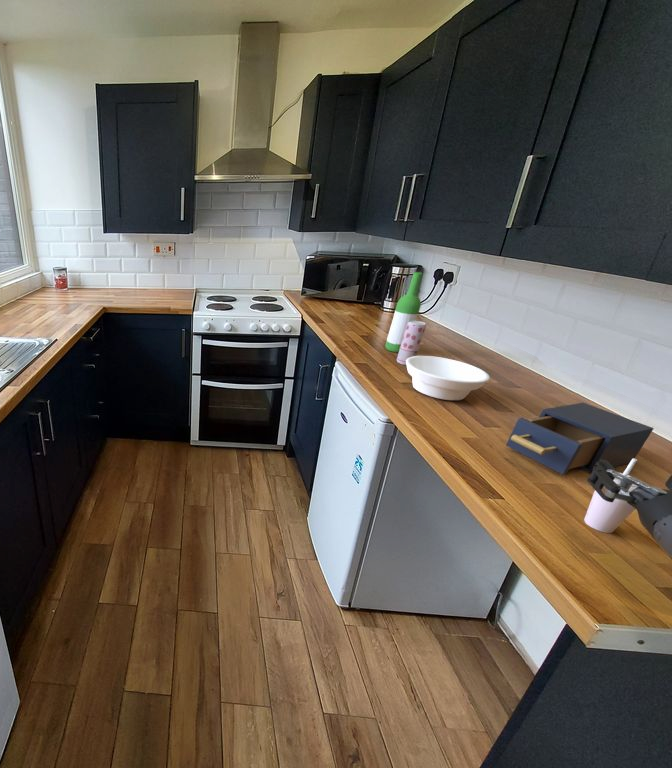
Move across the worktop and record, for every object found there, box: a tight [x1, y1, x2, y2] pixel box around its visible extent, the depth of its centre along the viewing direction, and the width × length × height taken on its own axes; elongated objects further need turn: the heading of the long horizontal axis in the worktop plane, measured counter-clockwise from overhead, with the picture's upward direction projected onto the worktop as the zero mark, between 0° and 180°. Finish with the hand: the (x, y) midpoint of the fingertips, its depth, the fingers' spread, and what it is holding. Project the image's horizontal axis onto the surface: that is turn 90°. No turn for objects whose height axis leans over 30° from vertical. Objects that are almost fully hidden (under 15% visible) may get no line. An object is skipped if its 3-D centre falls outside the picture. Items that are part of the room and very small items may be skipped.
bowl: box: [405, 355, 491, 401], centre depth 120 cm, size 21×21×8 cm
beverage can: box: [396, 320, 427, 366], centre depth 142 cm, size 6×6×15 cm
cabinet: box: [538, 402, 654, 474], centre depth 92 cm, size 15×13×9 cm
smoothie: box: [583, 457, 638, 534], centre depth 69 cm, size 6×6×14 cm
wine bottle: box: [384, 271, 423, 354], centre depth 152 cm, size 8×8×30 cm
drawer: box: [505, 416, 606, 475], centre depth 88 cm, size 18×11×7 cm, turn 108°
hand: (634, 471), depth 66 cm, fingers open, 8 cm apart
